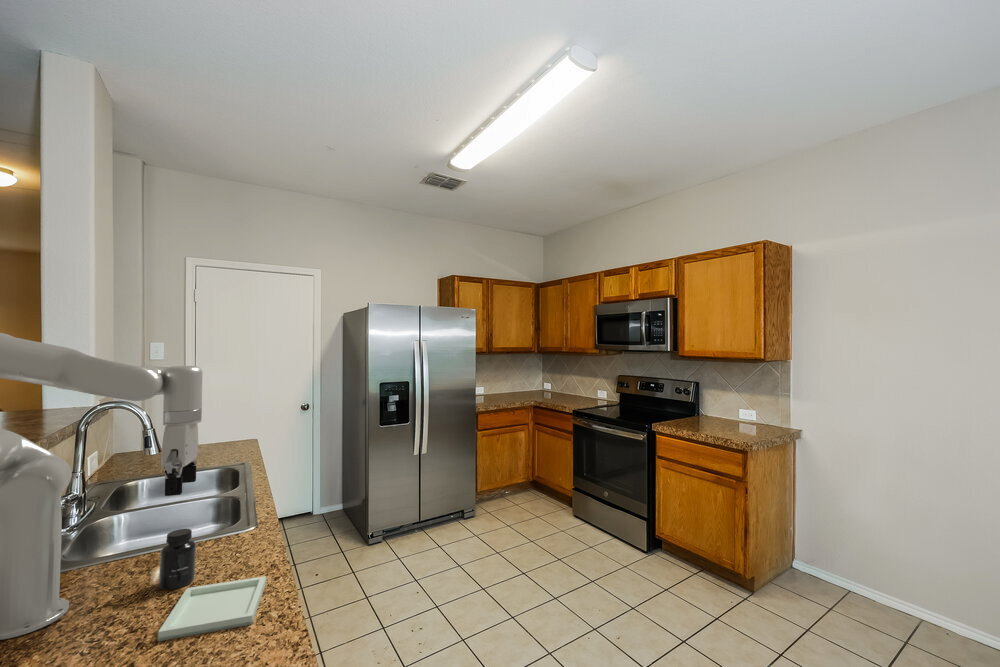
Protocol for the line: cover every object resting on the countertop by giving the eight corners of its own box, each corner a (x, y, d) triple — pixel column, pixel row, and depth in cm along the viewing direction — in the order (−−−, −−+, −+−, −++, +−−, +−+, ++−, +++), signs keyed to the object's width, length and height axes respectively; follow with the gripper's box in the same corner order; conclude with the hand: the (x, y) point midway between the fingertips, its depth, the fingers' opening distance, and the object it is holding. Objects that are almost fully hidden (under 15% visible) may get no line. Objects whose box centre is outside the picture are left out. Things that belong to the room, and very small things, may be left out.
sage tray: (157, 641, 83) (158, 632, 83) (186, 596, 98) (187, 588, 98) (252, 624, 88) (252, 615, 89) (266, 583, 104) (266, 576, 104)
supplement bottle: (175, 593, 99) (177, 540, 100) (151, 589, 101) (153, 537, 101) (201, 577, 106) (203, 527, 107) (178, 574, 108) (180, 525, 108)
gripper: (177, 412, 112) (176, 479, 111) (148, 424, 95) (146, 502, 95) (211, 411, 114) (210, 476, 114) (188, 422, 98) (187, 498, 97)
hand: (181, 488), depth 104 cm, fingers open, 9 cm apart
